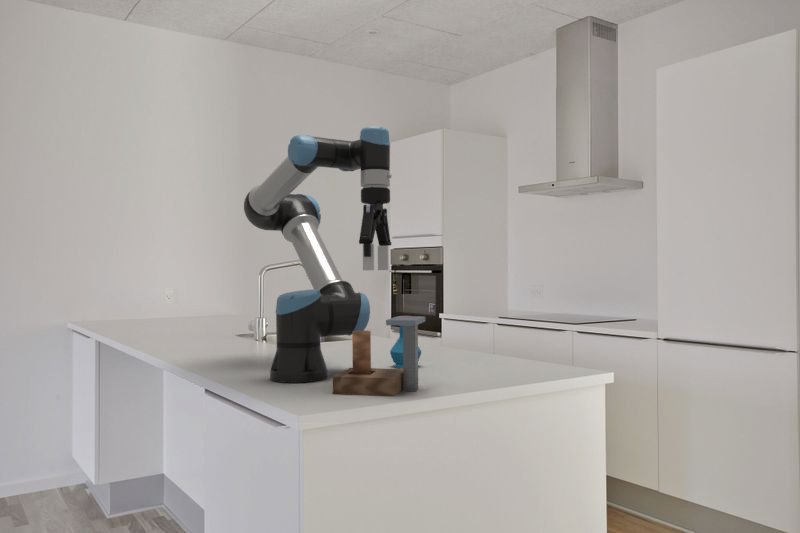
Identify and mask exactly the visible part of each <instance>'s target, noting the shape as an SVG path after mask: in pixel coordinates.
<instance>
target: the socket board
mask: <svg viewBox="0 0 800 533" xmlns="http://www.w3.org/2000/svg"><path fill="white" fill-rule="evenodd" d="M402 391H403V368H376V367H375V368H374V367H371V374H370V375H361V374H353V367H349V368H347V369H345V370H343V371H341V372H339V373H337V374H335V375H333V376H332V395H333V394H334V395H355V396H356V395H358V396H359V395H360V396H361V395H362V396H382V397H383V396H385V397H396V396H397V395H398V394H399V393H401V392H402Z"/></svg>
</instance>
